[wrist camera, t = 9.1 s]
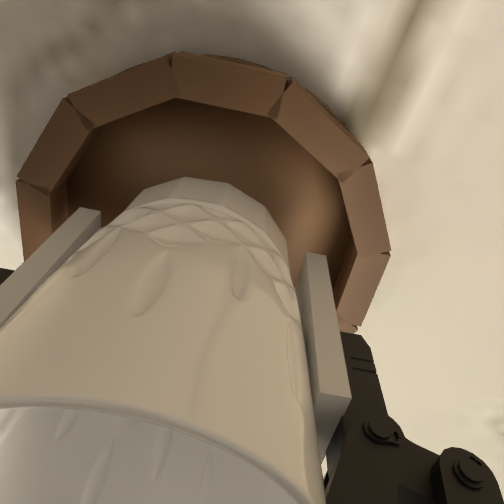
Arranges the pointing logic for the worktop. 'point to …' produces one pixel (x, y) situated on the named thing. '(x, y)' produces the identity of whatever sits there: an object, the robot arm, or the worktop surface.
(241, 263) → the white cup
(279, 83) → the ring tray
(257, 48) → the worktop surface
